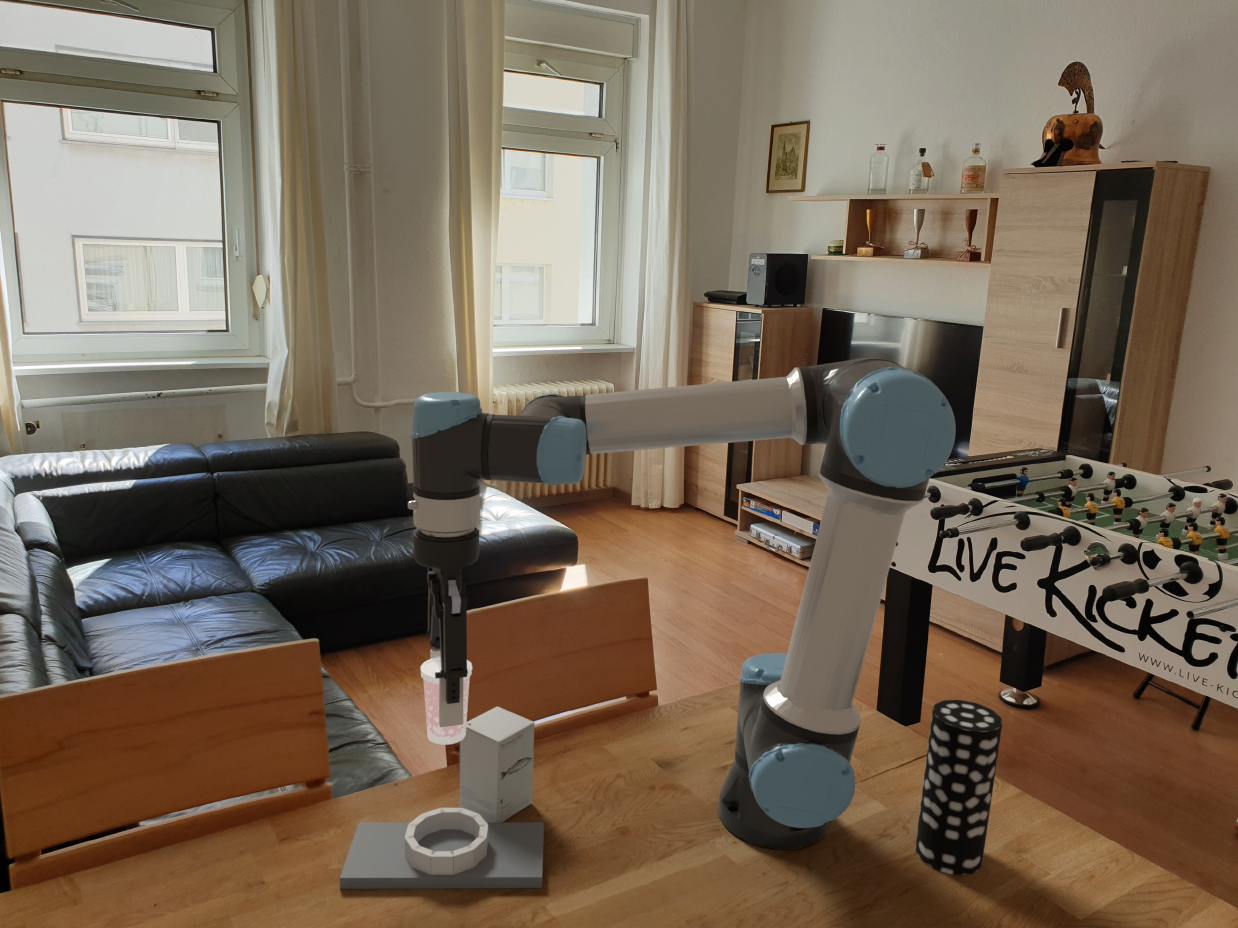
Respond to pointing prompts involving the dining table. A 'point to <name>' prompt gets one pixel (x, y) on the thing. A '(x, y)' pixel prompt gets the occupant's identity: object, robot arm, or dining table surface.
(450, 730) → the beverage cup
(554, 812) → the dining table surface
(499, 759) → the supplement box
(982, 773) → the spotted tube
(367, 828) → the collar board
